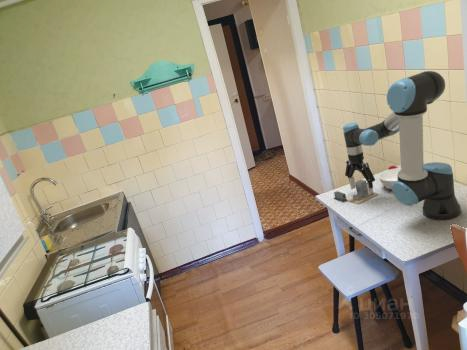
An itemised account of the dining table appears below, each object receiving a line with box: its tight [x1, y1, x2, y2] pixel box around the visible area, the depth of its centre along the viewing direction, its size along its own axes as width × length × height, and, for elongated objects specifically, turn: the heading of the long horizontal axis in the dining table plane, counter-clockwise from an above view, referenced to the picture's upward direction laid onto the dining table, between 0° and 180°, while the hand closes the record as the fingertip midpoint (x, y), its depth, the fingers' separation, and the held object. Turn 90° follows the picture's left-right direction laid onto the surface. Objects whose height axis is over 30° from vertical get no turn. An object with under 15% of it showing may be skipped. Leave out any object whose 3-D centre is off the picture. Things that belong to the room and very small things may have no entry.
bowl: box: [378, 167, 401, 190], centre depth 200 cm, size 18×18×7 cm
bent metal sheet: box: [352, 179, 373, 201], centre depth 198 cm, size 4×10×9 cm, turn 115°
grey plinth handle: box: [333, 191, 348, 203], centre depth 207 cm, size 8×19×4 cm, turn 114°
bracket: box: [387, 165, 399, 170], centre depth 214 cm, size 12×4×8 cm, turn 32°
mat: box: [347, 191, 379, 205], centre depth 200 cm, size 8×14×1 cm, turn 114°
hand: (361, 190), depth 199 cm, fingers open, 12 cm apart
